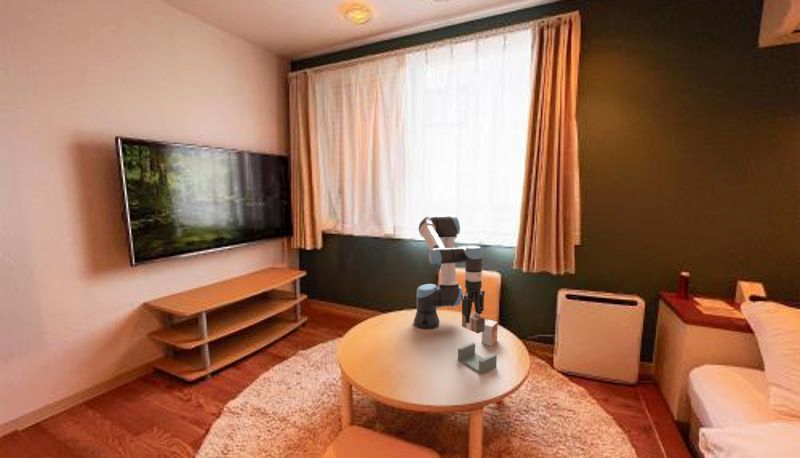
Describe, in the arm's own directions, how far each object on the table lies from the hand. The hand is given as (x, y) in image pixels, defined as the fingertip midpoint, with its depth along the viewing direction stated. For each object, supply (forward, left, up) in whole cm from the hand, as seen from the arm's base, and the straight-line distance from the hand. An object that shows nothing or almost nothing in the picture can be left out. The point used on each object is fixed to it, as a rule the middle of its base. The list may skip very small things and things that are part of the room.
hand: (472, 327), depth 155 cm
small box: (-6, +20, -16) cm, 26 cm away
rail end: (0, 0, 0) cm, 0 cm away
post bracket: (+4, -1, -16) cm, 16 cm away
